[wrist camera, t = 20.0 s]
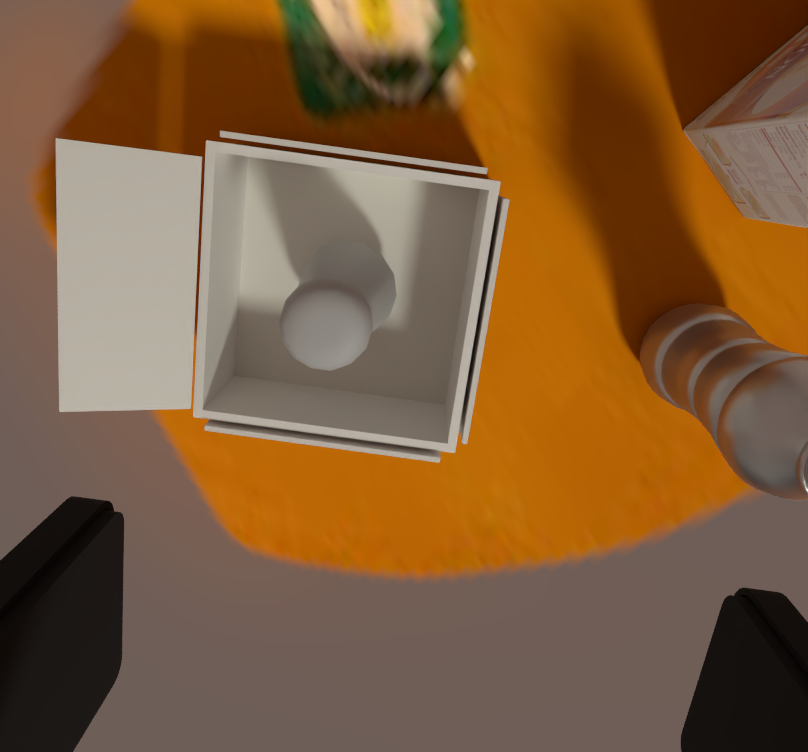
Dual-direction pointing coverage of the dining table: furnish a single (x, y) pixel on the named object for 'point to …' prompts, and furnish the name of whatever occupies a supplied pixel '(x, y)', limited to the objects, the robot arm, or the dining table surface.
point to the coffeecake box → (762, 137)
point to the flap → (126, 276)
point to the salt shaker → (337, 305)
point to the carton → (388, 345)
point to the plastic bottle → (735, 392)
